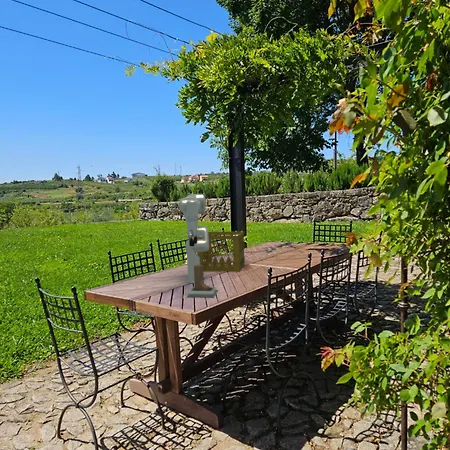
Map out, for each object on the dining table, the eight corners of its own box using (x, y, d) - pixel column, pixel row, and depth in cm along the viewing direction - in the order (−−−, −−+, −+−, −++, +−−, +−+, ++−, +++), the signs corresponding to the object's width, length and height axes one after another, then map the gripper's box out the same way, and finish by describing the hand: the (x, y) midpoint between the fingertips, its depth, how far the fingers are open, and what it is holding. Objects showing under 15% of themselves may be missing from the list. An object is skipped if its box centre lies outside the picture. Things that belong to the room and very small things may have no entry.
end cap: (192, 291, 265) (192, 286, 265) (217, 291, 262) (217, 286, 262) (187, 297, 249) (186, 292, 249) (213, 297, 247) (213, 292, 246)
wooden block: (210, 292, 255) (209, 265, 254) (206, 294, 251) (205, 266, 250) (198, 291, 260) (197, 264, 258) (194, 293, 256) (193, 265, 254)
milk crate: (206, 263, 366) (205, 231, 363) (244, 264, 359) (243, 231, 357) (197, 271, 331) (196, 236, 328) (239, 271, 325) (238, 235, 322)
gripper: (189, 217, 266) (190, 242, 268) (183, 220, 249) (184, 247, 251) (200, 217, 265) (201, 242, 267) (195, 220, 248) (196, 247, 250)
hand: (193, 245), depth 259 cm, fingers open, 9 cm apart
